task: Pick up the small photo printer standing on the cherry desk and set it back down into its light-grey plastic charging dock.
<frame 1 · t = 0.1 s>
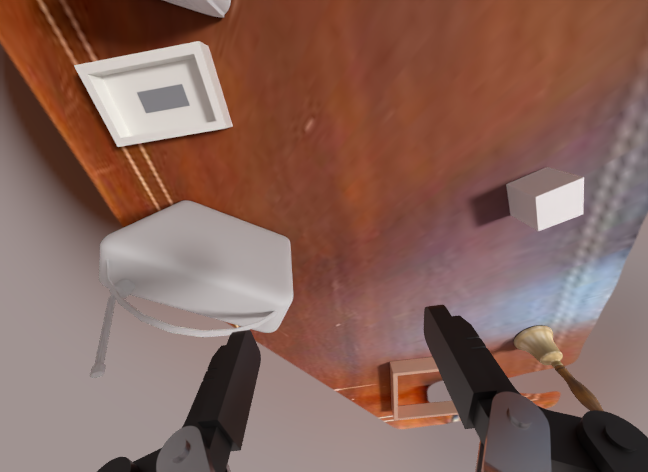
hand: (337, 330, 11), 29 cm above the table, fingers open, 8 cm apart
light grey cube: (526, 191, 39), on the table
dock: (166, 99, 32), on the table
brown square frame: (432, 382, 64), on the table
radio: (235, 236, 42), on the table
hand bell: (531, 336, 56), on the table
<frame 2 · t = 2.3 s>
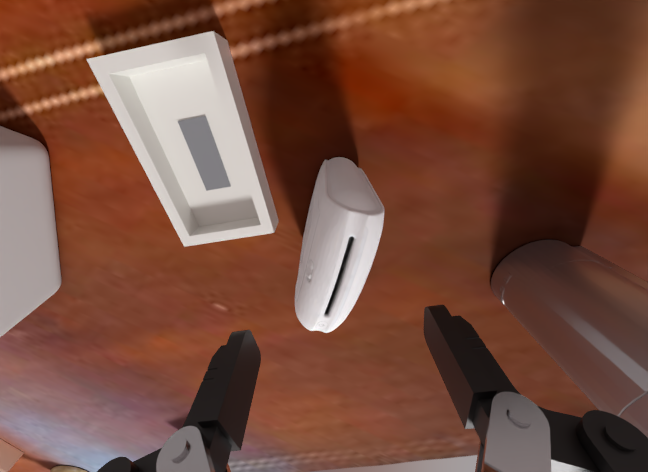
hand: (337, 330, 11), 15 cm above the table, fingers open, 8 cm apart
dock: (209, 154, 22), on the table
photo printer: (330, 207, 25), on the table
radio: (19, 211, 25), on the table
hand bell: (73, 471, 55), on the table
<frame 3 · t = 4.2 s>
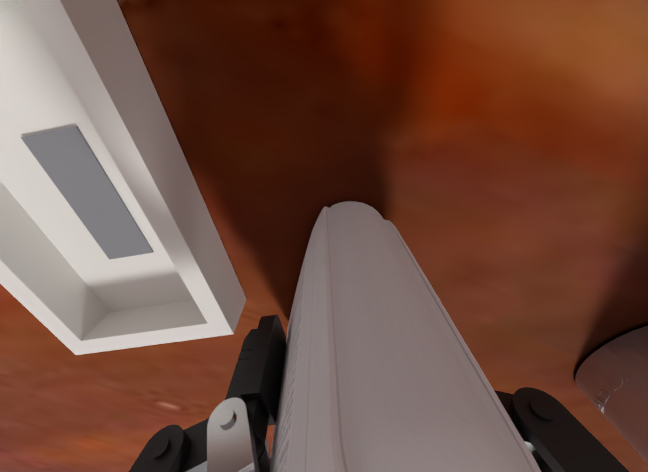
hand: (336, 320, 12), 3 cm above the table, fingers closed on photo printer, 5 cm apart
dock: (106, 196, 12), on the table
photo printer: (333, 277, 14), on the table, touching gripper
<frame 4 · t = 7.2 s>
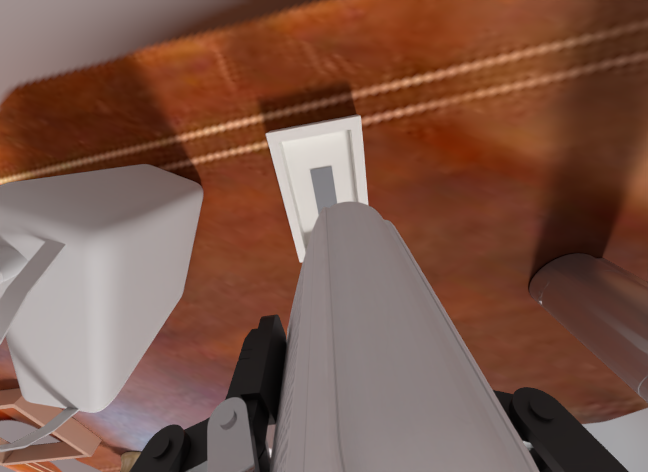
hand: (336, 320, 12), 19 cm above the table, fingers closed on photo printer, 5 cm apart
light grey cube: (270, 422, 54), on the table
dock: (325, 192, 28), on the table
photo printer: (333, 277, 14), point 16 cm above the table, touching gripper
brown square frame: (23, 421, 51), on the table
radio: (163, 234, 31), on the table
hand bell: (140, 457, 61), on the table
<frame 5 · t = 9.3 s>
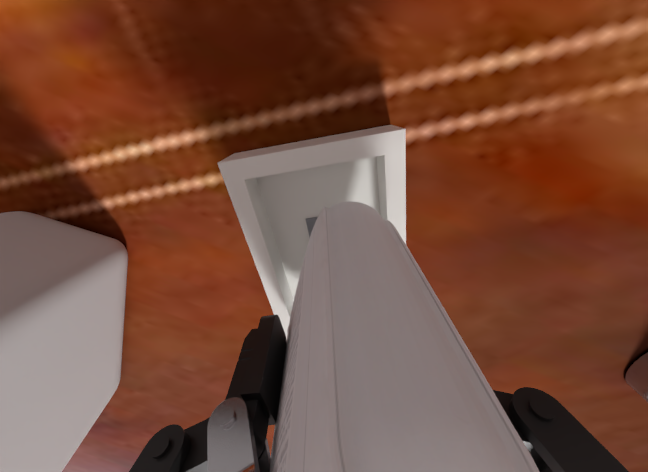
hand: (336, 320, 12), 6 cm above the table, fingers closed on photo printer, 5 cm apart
dock: (331, 250, 17), on the table
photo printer: (333, 277, 14), point 3 cm above the table, touching gripper
radio: (78, 308, 20), on the table
when the fingers open (5 cm above the table, at t = 10.5 s): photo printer drops 1 cm, resting on dock.
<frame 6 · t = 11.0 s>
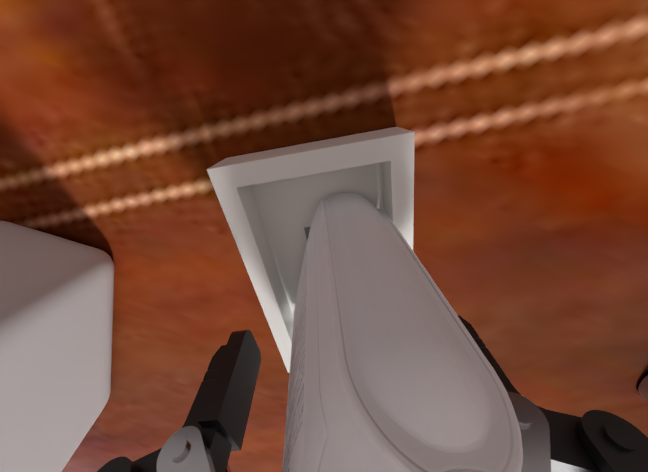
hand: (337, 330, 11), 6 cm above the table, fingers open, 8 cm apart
dock: (331, 260, 16), on the table
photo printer: (333, 265, 16), point 1 cm above the table, touching dock
radio: (63, 320, 19), on the table
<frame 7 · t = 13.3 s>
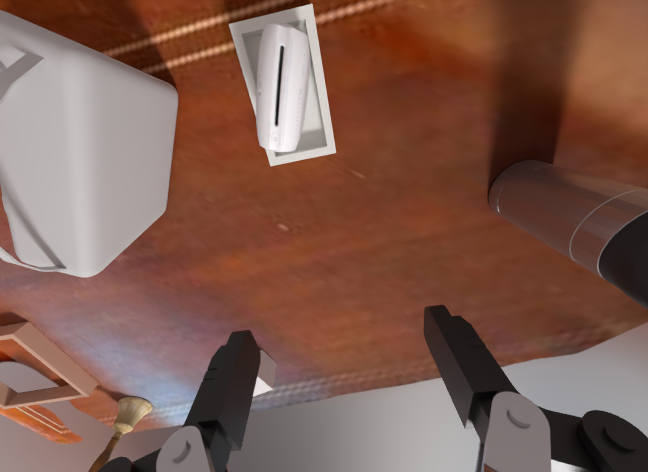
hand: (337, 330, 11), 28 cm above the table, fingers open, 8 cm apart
light grey cube: (259, 359, 57), on the table
dock: (290, 96, 31), on the table
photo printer: (290, 96, 31), resting on dock
brown square frame: (22, 362, 54), on the table
radio: (144, 146, 33), on the table
hand bell: (136, 403, 64), on the table
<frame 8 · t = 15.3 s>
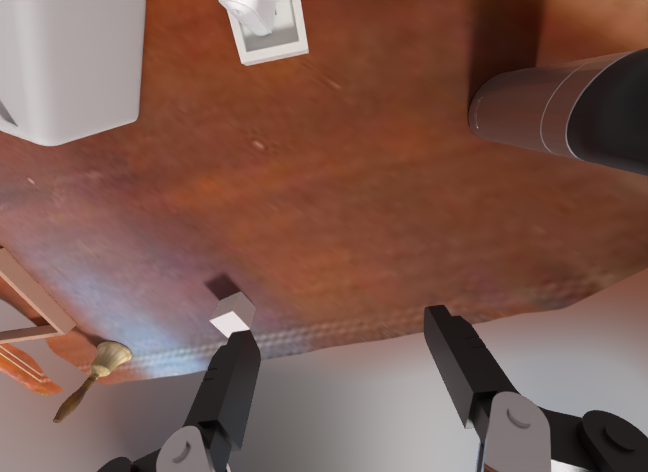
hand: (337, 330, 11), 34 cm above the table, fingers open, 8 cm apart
light grey cube: (238, 303, 56), on the table
radio: (115, 43, 33), on the table
hand bell: (115, 350, 63), on the table
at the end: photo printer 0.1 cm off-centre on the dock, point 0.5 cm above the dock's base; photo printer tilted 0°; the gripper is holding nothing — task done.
